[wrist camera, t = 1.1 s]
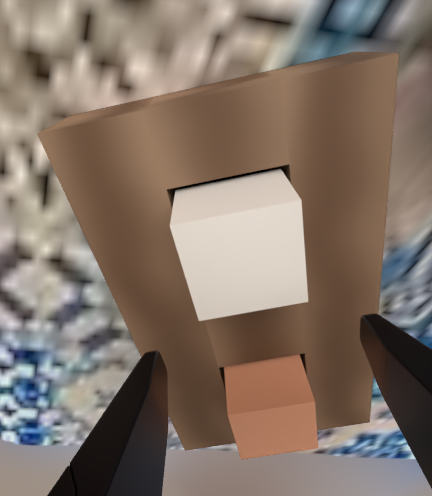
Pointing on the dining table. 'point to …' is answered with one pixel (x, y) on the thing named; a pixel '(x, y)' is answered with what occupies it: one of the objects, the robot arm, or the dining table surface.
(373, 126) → the button panel
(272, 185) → the white square block
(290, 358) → the terracotta plunger
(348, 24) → the dining table surface
